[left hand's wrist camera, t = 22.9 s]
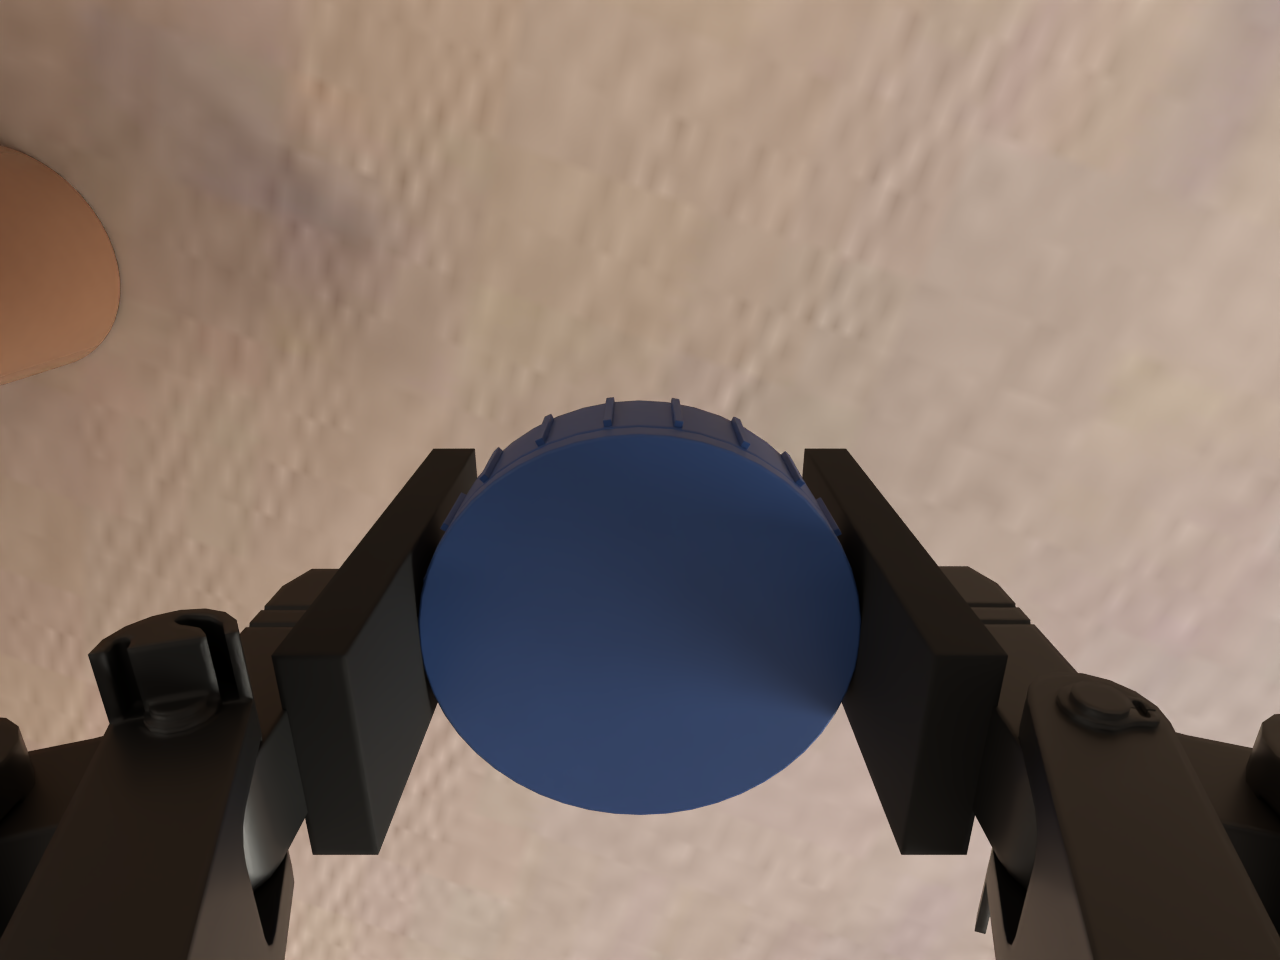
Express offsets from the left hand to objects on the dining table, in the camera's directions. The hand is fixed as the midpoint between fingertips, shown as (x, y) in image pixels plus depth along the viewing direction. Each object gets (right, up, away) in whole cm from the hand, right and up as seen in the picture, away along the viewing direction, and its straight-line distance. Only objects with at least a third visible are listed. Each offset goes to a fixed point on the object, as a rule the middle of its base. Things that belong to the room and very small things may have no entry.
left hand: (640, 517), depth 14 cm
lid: (0, -1, -4) cm, 4 cm away
